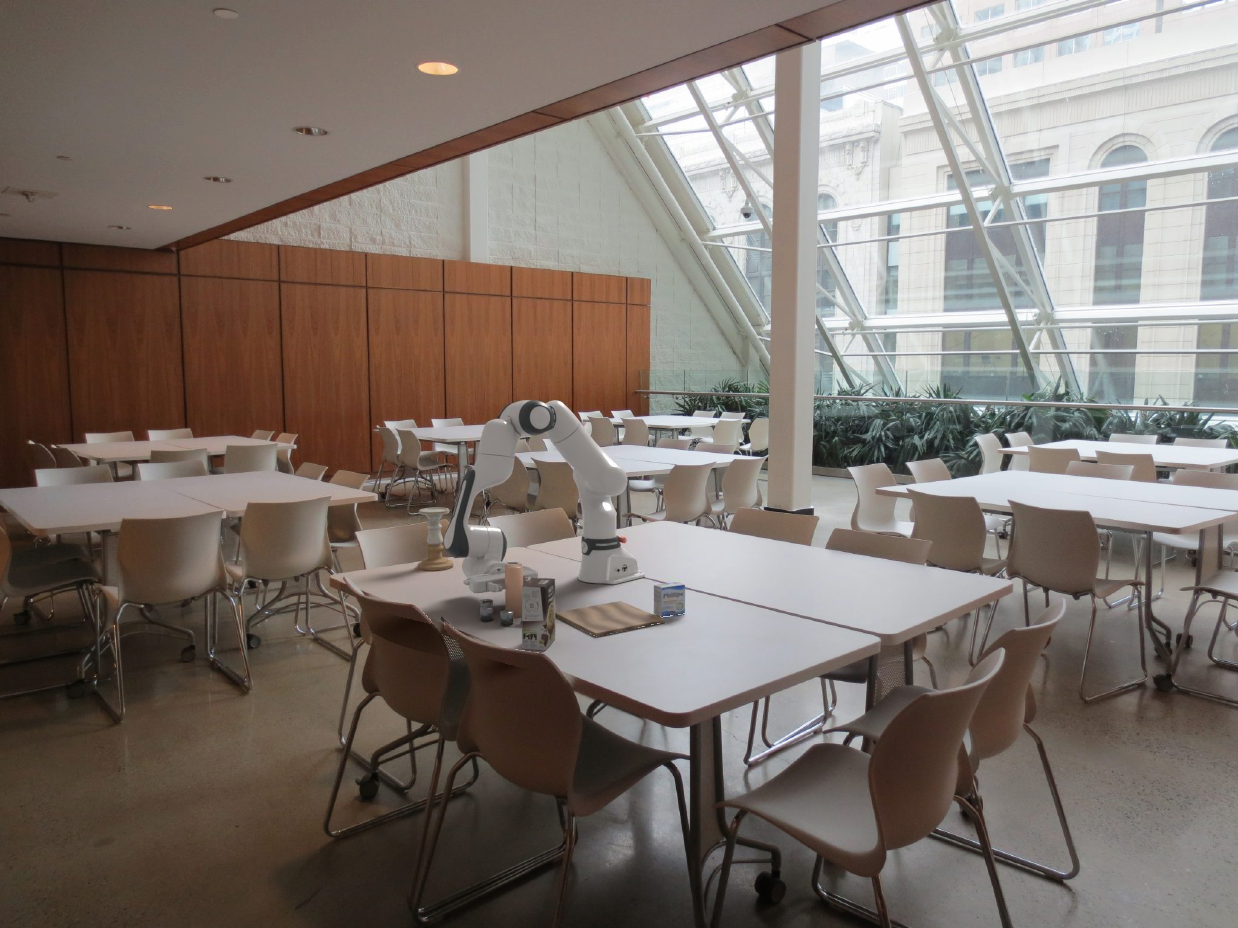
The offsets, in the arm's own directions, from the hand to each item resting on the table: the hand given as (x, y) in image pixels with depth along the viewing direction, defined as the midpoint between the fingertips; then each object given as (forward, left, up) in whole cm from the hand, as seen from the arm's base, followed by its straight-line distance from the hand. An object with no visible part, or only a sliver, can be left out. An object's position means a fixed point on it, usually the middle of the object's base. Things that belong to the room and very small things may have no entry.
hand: (515, 586), depth 237 cm
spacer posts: (0, -1, -8) cm, 8 cm away
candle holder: (-3, -68, -9) cm, 68 cm away
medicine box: (-37, +22, -9) cm, 44 cm away
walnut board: (-20, +17, -8) cm, 28 cm away
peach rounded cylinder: (0, -1, -8) cm, 8 cm away
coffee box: (+6, +25, -9) cm, 27 cm away
